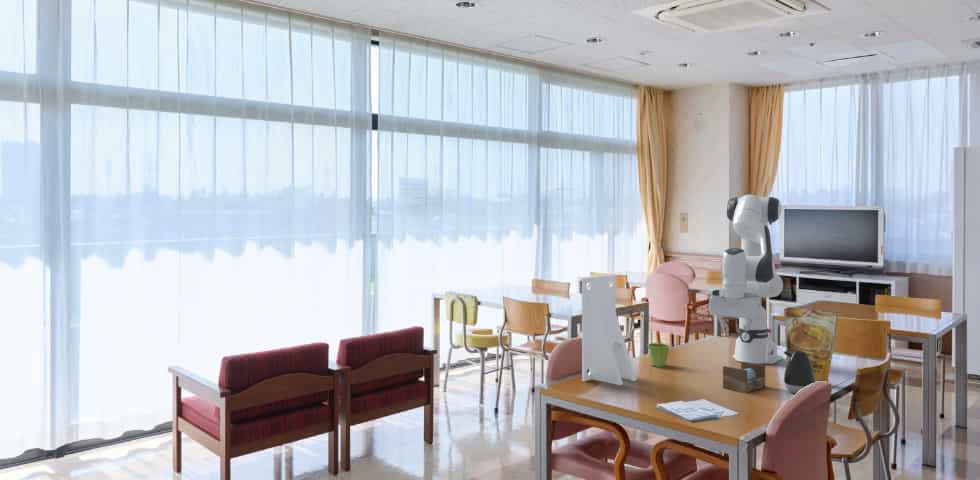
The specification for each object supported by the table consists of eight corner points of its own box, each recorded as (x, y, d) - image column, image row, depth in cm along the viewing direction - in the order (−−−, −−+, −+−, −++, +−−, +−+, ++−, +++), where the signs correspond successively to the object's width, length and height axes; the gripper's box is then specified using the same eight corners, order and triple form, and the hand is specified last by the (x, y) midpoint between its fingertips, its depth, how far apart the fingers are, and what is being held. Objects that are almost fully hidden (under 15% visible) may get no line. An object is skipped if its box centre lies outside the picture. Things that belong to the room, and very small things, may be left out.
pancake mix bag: (787, 377, 279) (787, 305, 278) (837, 385, 265) (838, 310, 264) (779, 379, 274) (780, 307, 273) (830, 388, 260) (831, 312, 259)
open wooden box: (742, 382, 271) (743, 361, 271) (765, 386, 264) (765, 365, 264) (722, 388, 262) (722, 366, 262) (745, 392, 255) (745, 370, 255)
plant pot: (668, 363, 306) (668, 343, 306) (671, 368, 296) (671, 347, 296) (646, 363, 307) (646, 343, 306) (648, 367, 297) (648, 347, 297)
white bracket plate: (612, 387, 265) (612, 280, 263) (582, 380, 275) (581, 277, 274) (643, 378, 278) (643, 276, 277) (613, 372, 289) (613, 274, 287)
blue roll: (744, 381, 268) (743, 367, 268) (757, 383, 264) (756, 368, 264) (730, 386, 262) (729, 371, 262) (743, 387, 258) (742, 372, 258)
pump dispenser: (788, 387, 262) (788, 346, 261) (818, 392, 255) (818, 349, 255) (779, 393, 254) (779, 350, 254) (810, 397, 248) (810, 354, 247)
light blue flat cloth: (654, 408, 238) (654, 402, 238) (705, 402, 245) (705, 396, 245) (690, 424, 220) (690, 417, 220) (743, 417, 227) (743, 410, 227)
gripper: (765, 293, 261) (765, 330, 262) (715, 289, 276) (715, 324, 277) (756, 295, 257) (756, 333, 258) (706, 290, 272) (706, 326, 273)
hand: (735, 328), depth 268 cm, fingers open, 8 cm apart
